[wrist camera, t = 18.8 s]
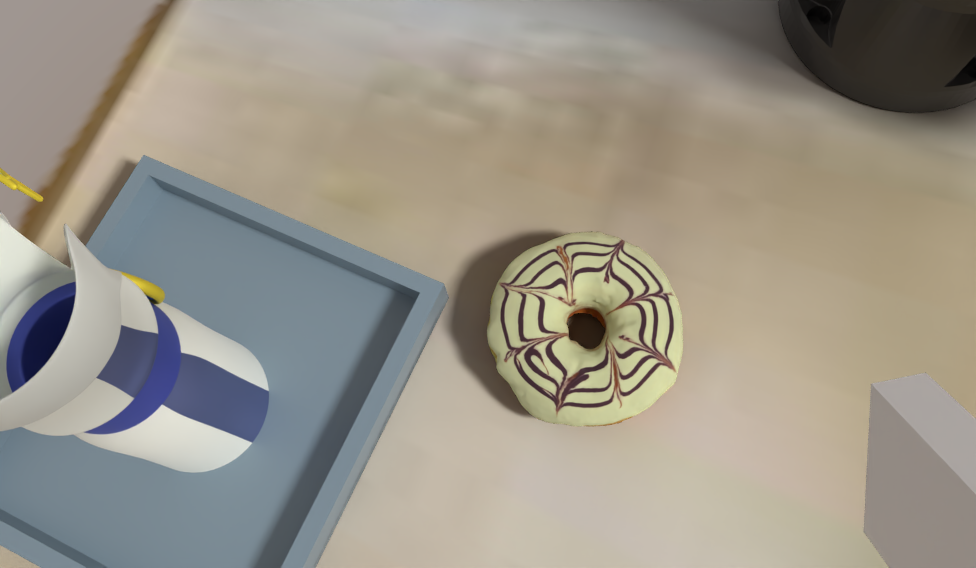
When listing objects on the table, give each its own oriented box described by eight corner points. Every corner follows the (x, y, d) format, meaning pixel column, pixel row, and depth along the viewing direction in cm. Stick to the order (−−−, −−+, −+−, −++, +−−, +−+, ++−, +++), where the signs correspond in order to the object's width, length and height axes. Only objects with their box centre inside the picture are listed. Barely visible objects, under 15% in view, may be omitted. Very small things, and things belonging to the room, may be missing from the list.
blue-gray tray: (162, 173, 50) (143, 154, 48) (448, 297, 47) (444, 284, 44) (-45, 503, 45) (-79, 501, 42) (263, 672, 41) (246, 681, 39)
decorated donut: (529, 459, 44) (529, 452, 40) (465, 285, 47) (459, 264, 44) (706, 393, 44) (720, 380, 41) (630, 225, 48) (637, 200, 44)
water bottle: (153, 314, 47) (-238, 80, 23) (292, 345, 46) (31, 134, 22) (101, 454, 44) (-395, 354, 21) (246, 490, 43) (-101, 429, 20)
